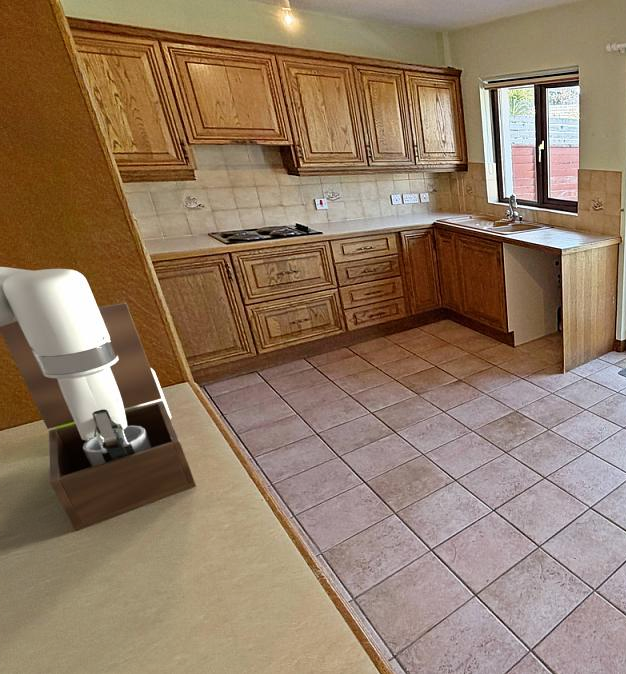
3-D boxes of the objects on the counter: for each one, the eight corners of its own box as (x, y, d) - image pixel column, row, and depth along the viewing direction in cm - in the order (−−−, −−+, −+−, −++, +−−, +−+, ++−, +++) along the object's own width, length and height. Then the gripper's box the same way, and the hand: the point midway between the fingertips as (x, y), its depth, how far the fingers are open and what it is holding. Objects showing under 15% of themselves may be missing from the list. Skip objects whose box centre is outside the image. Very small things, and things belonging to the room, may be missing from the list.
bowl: (138, 472, 72) (128, 448, 71) (83, 479, 70) (71, 454, 69) (162, 446, 78) (153, 423, 76) (112, 451, 76) (101, 428, 75)
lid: (126, 303, 77) (123, 297, 80) (-4, 323, 67) (-1, 315, 71) (162, 398, 83) (158, 389, 86) (47, 429, 74) (48, 417, 77)
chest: (196, 486, 77) (179, 441, 73) (75, 531, 67) (50, 482, 64) (177, 441, 87) (162, 400, 83) (71, 475, 78) (48, 430, 74)
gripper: (39, 345, 70) (86, 444, 77) (38, 388, 59) (93, 498, 66) (109, 332, 75) (147, 426, 82) (121, 369, 64) (163, 474, 71)
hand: (123, 457), depth 74 cm, fingers closed on bowl, 7 cm apart
